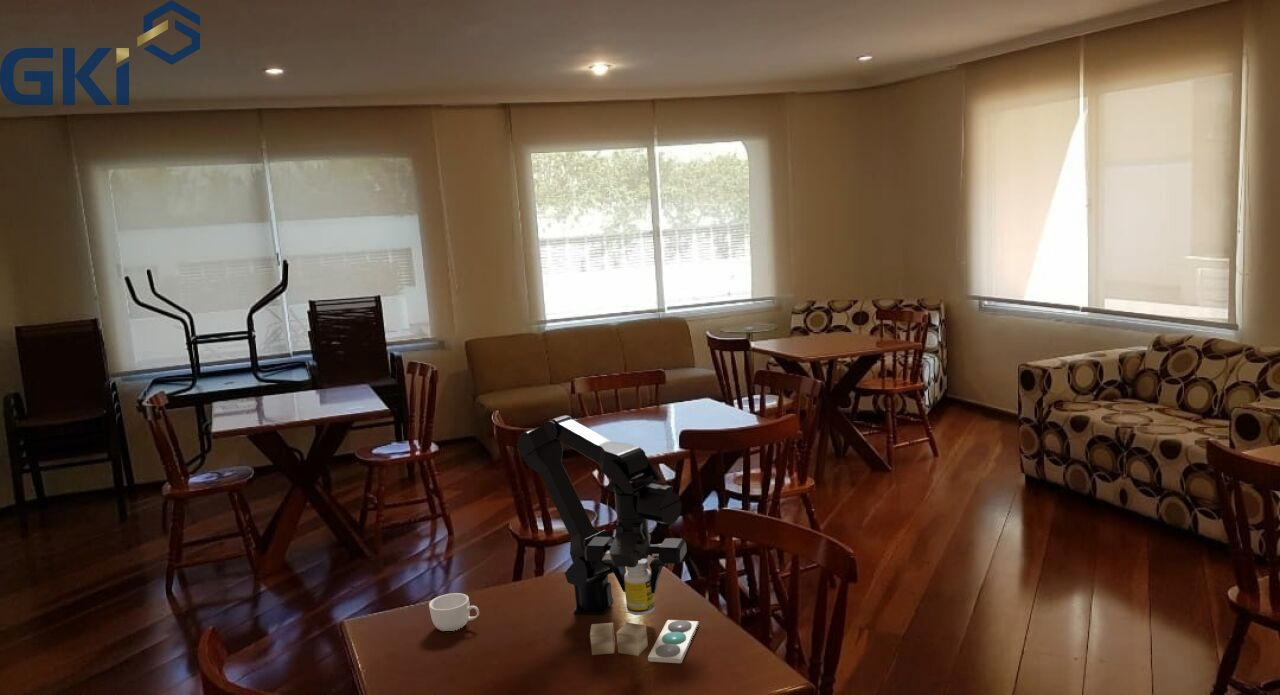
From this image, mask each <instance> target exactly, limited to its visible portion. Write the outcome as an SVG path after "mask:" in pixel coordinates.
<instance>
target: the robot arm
mask: <svg viewBox="0 0 1280 695" xmlns="http://www.w3.org/2000/svg"><path fill="white" fill-rule="evenodd" d="M562 443H563V444H564V445H566V446H568V447H570V448H571V449H572V450H574V451H576V452H578V453H580V454H581V455H583V456H585V457H587V458H588V459H590V460H591V461H594V462H595V463H596V464H598V466H599V468H600V471H601V473H602V474H603V475H604V476H606V477H607V478H608V479H609V480H611V481H610V482H609V483H608V484H607V485H606V486H605V489H606V491H612V492H614V499H615V500H614V502H615V512H616V521H617V522H616V523H615V535H614V539H613V538H612V536H610V534H609V532H608V531H607V530H606V529H603V530H599V529H598V528H596V527H595V526H594V525H593V523H592V521H591V519H590V517H589V515H588V513H587V512H586V509H585V507H584V505H583V503H582V501H581V499H580V497H579V495H578V493H577V491H576V489H575V487H574V485H573V483H572V481H571V479H570V477H569V475H568V473H567V471H566V469H565V467H564V465H563V451H564V450H563V449H564V448H563V444H562ZM516 448H517V451H518V453H519V455H520V456H521V458H522V459H523V461H524V462H525V464H526V466H528V467H530V468H531V469H532V470H533V471H534V472H536V473H538V474H539V475H540V477H541V479H542V481H543V484H544V486H545V487H546V490H547V491H548V494H549V495H550V498H551V500H552V502H553V504H554V506H555V509H556V511H557V512H558V514H559V517H560V518H561V520H562V522H563V525H564V527H565V529H566V531H567V533H568V536H569V537H570V546H569V555H570V557H571V561H572V564H571V565H570V566H569V567H568V568H567V569H566V571H564V575H565V578H566V581H567V583H568V584H570V585H572V586H573V588H574V595H575V596H574V597H575V604H576V606H575V607H574V608H573V613H577V614H597V615H603V614H605V612H606V611H607V610H608V608H610V606H611V604H612V603H613V601H614V598H613V593H612V583H611V582H609V577H608V575H610V574H614V576H615V577H616V580H617V582H618V584H619V585H620V588H621V590H622V592H623V593H625V582H624V575H625V573H626V572H627V571H626V570H627V567H635V566H637V564H638V560H641V559H648V557H649V556H652V560H651V562H650V563H648V567H649V568H650V571H651V588H652V593H654V594H655V593H656V591H657V587H658V584H659V580H660V575H661V572H662V568H663V567H666V565H667V564H670V565H671V564H673V565H674V564H677V565H678V564H679V563H682V561H683V559H684V557H686V556H685V555H686V554H687V552H688V551H687V550H688V549H687V543H686V541H685V540H684V539H683V538H677V537H676V538H672V537H668V538H666V537H665V538H664V540H663V541H662V543H657V544H655V543H654V544H652V543H651V540H652V535H651V534H650V529H649V521H653V522H656V523H660V524H666V525H674V524H675V523H676V522H677V521H678V519H679V518H680V515H681V512H682V509H683V508H682V505H683V503H682V500H681V499H680V496H679V495H678V494H677V493H675V492H673V487H672V486H671V485H667V484H666V485H661V484H659V483H660V482H661V481H662V479H661V478H660V476H659V474H658V471H657V470H656V469H655V468H654V466H653V465H652V463H651V461H650V459H649V458H648V456H647V455H646V451H645V450H644V449H642V447H640V446H638V445H634V444H632V443H631V444H630V443H628V442H621V441H620V442H618V441H617V442H616V441H614V440H610V439H608V438H607V437H604V436H603V435H601V434H599V433H597V432H595V431H593V430H592V429H590V428H588V427H586V426H585V425H583V424H581V423H579V422H578V421H576V420H575V419H573V417H572V416H570V415H561V416H558V417H555V418H552V419H551V418H550V420H548V421H547V422H546V423H544V424H542V425H541V426H538V427H535V428H532V429H529V430H526V431H523V432H521V433H520V434H519V435H518V438H517V442H516ZM643 475H644V477H641V476H643ZM639 477H641V478H639ZM637 478H639V479H637ZM636 479H637V480H636ZM632 480H635V481H632Z"/></svg>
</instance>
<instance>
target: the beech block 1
mask: <svg viewBox="0 0 1280 695" xmlns="http://www.w3.org/2000/svg"><path fill="white" fill-rule="evenodd" d="M589 633H590V634H589V638H590V646H591V647H590V649H591V655H592V656H594V655H609V654H614V653H615V649H616V648H615V646H616V639H615V637H616V636H615V628H614V622H607V623H606V622H603V623H594V624H593V623H592V624H591V626H590V632H589Z"/></svg>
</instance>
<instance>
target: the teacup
mask: <svg viewBox="0 0 1280 695" xmlns="http://www.w3.org/2000/svg"><path fill="white" fill-rule="evenodd" d="M469 598H470V597H469V596H468V595H467V594H464V593H460V592H459V593H458V592H456V593H455V592H453V593H452V592H451V593H446V594H443V595H439V596H436V597H435V598H433V599H432V600H430V601H429V603H428V607H429V611H430V612H429V613H430V616H431V621H432V623H433V625H434V626H435V628H436V629H437V630H439V631H440V632H441V631H442V632H444V631H453V632H456V631H459V630H461V629H462V628H463V627H464V626H465V625H467V623H468V622H469V621H473V620H475V619H476V618H477V617H478V616H479V615H480V610H479V608H478V607H477V606H476V605H470V599H469ZM472 609H474V610H475V612H476V615H475V616H470V615H471V614H470V613H471V612H470V611H471V610H472ZM460 628H461V629H460ZM458 629H459V630H458ZM455 630H456V631H455Z"/></svg>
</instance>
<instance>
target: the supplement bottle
mask: <svg viewBox="0 0 1280 695" xmlns="http://www.w3.org/2000/svg"><path fill="white" fill-rule="evenodd" d="M647 559H648V558H647ZM647 559H641V560H638V564H637V566H635V567H626V570H627V571H626V573H625V575H624V582H625V592H624V593H625V594H624V595H625V604H626V611H627V612H628V613H629V614H631V615H634V616H643V615H648V614H650V613H652V612H653V611H654V610H655V608H656V607H655V606H656V604H655V593H652V588H651V569H648V568H649V563H648V560H647Z"/></svg>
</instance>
